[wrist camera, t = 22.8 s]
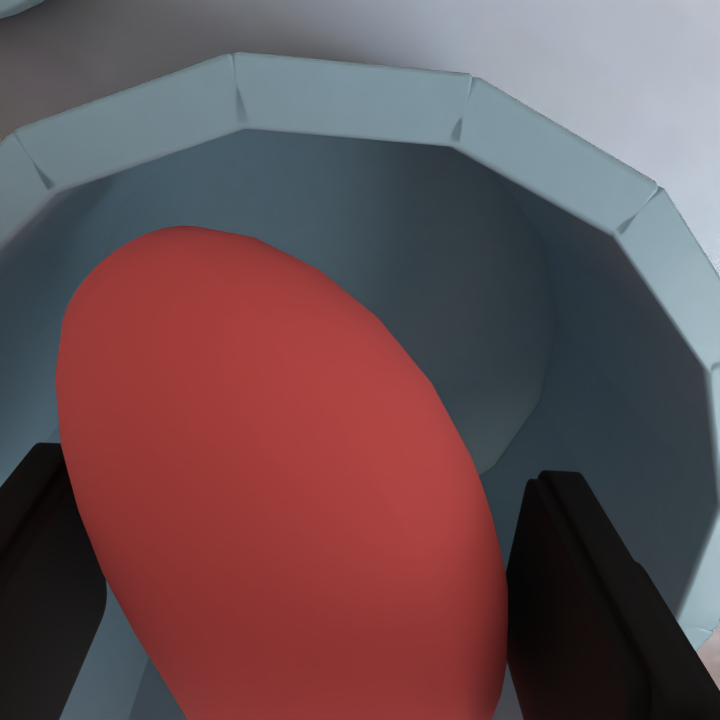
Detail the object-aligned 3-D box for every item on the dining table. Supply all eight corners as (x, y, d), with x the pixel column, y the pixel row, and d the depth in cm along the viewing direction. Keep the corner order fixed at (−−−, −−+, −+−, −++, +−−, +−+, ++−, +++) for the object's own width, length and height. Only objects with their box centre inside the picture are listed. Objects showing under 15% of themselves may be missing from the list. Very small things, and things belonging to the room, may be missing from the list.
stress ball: (524, 223, 11) (348, 128, 5) (568, 754, 11) (446, 1216, 5) (266, 265, 13) (-49, 230, 7) (307, 702, 13) (33, 984, 8)
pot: (44, 38, 15) (-294, 1, 7) (632, 93, 15) (932, 117, 8) (93, 527, 20) (-63, 816, 12) (525, 549, 21) (634, 832, 13)
